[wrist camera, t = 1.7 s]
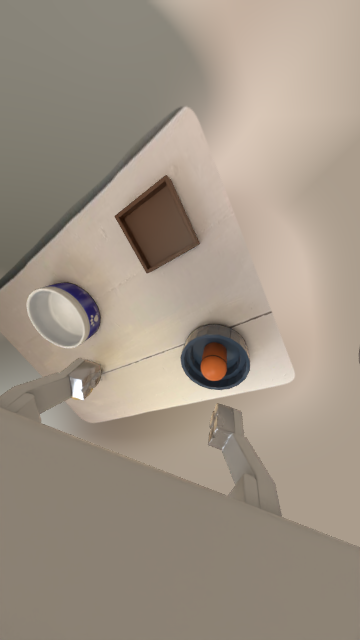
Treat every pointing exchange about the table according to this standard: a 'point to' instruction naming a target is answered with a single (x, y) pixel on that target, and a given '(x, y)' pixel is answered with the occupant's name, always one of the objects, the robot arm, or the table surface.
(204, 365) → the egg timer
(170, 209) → the tray
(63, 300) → the dog bowl
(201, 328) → the glazed bowl
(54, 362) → the table surface
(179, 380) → the table surface
